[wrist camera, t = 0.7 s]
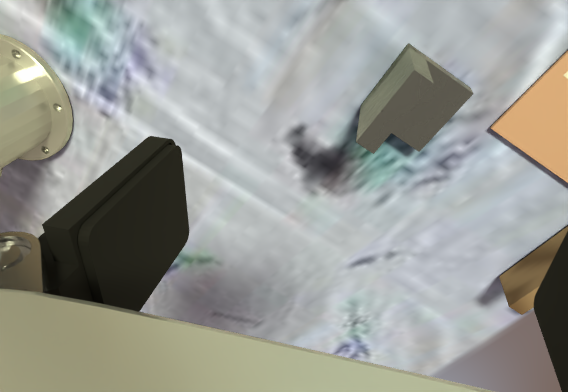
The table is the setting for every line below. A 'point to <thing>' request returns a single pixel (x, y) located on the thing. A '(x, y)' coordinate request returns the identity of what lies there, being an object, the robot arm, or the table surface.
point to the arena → (529, 274)
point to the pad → (541, 120)
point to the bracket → (410, 102)
